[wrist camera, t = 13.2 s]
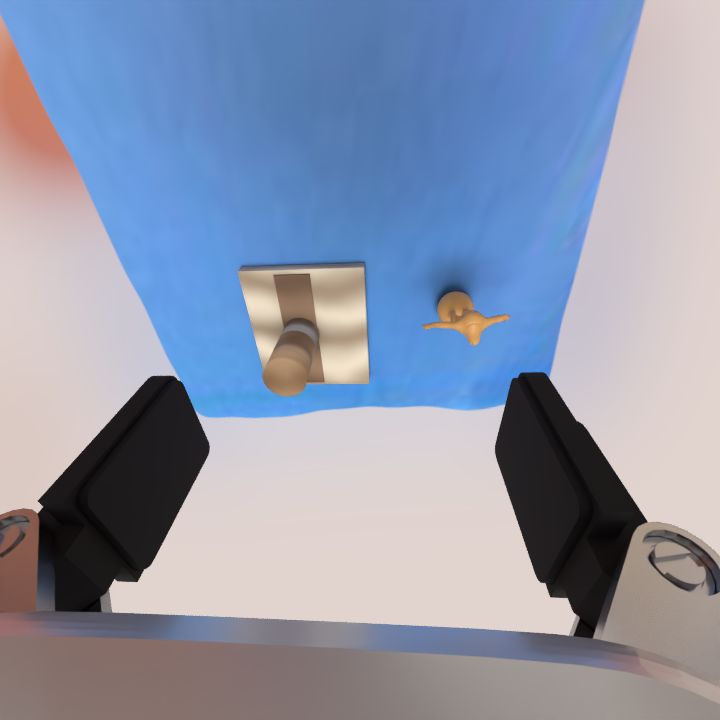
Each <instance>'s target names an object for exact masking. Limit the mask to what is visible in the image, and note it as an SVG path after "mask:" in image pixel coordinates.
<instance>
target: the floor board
mask: <svg viewBox="0 0 720 720" xmlns="http://www.w3.org/2000/svg"><path fill="white" fill-rule="evenodd" d="M238 275H239V279H240V282H241V286H242V290H243V294H244V298H245V302H246V305H247V309H248V313H249V317H250V321H251V324H252V328H253V332H254V336H255V340H256V344H257V347H258V351H259V355H260V359H261V363H262V366H263V370H264V369H265V367H266V365H267V363H268V360H269V358H270V356H271V354H272V352H273V350H274V348H275V346H276V344H277V341H278V339H279V337H280V335H281V333H282V331H283V329H284V327H285V325H286V323H287V322H288V321H290V320H292V319H294V318H304V319H307V320H310V321H311V322H313V323H314V324H315V325H316V326H317V328H318V330H319V334H320V337H319V341H318V345H317V348H316V352H315V355H314V358H313V362H312V365H311V369H310V372H309V376H308V379H307V383H306V384H369V380H370V373H369V351H368V329H367V307H366V285H365V263H340V264H309V265H279V266H248V267H241V268H240V269H239V270H238Z"/></svg>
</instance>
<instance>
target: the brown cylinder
mask: <svg viewBox="0 0 720 720" xmlns="http://www.w3.org/2000/svg"><path fill="white" fill-rule="evenodd" d="M319 337H320V334H319V330H318V328H317V326H316V325H315V324H314V323H313V322H311V321H310V320H307V319H304V318H294V319H292V320H290V321H288V322H287V323H286V325H285V327H284V329H283V331H282V333H281V335H280V337H279V339H278V341H277V344H276V346H275V348H274V350H273V352H272V354H271V356H270V358H269V360H268V363H267V365H266V367H265V369H264V371H263V375H262V377H263V381H264V384H265V385H266V387H267V388H268V389H269V390H271V391H272V392H274V393H276V394H278V395H281V396H294V395H297V394H299V393H301V392H302V391H303V390H304V388H305V386H306V383H307V379H308V376H309V372H310V369H311V365H312V362H313V358H314V355H315V352H316V348H317V345H318V341H319Z"/></svg>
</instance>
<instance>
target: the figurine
mask: <svg viewBox="0 0 720 720" xmlns="http://www.w3.org/2000/svg"><path fill="white" fill-rule="evenodd" d="M437 313H438V316H439V318H440V320H441V321H442V322H433V323H430V324H427V325H422V326H423V328H424V329H427V330H428V329H430V328H433V327H440V328H451V329H455V330H458V331H459V332H460V333H462V334H464V335H465V336H466V338H467V339H468V341H469V342H470V344H472V345H474V346H475V345H477V344H478V342H479V340H480V336H481V333H482V331H483V330H484V329H485V328H486V327H488V326H490V325H491V324H494V323H497V322H500V321H502V320H504V322H505V321H506V320H508V319H509V318H510V315H506V314H504V315H498V316H494V317H490V318H486V317H484V316H483V315H482V314H481V313H479V312H478V311H475V310H474V305H473V302H472V300H471V298H470V297H469V296H468V295H466V294H465V293H463V292H458V291H454V292H450V293H448V294H446V295H444V296H443V297H442V298H441V300H440V301H439V303H438V307H437Z"/></svg>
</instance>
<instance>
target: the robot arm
mask: <svg viewBox="0 0 720 720" xmlns="http://www.w3.org/2000/svg"><path fill="white" fill-rule="evenodd" d="M209 448H210V446H209V442H208V440H207V437H206V435H205V433H204V431H203V429H202V426H201V424H200V422H199V419H198V417H197V415H196V412H195V410H194V408H193V406H192V403H191V401H190V399H189V396H188V394H187V392H186V390H185V387H184V385H183V383H182V382H181V381H178V380H177V379H176V378H175V377H174V376H152V377H150V378H149V379H147V381H146V382H145V383H144V384H143V385H142V386H141V387H140V388H139V390H138V391H137V392H136V393H135V394H134V395H133V396H132V397H131V398H130V399H129V401H128V402H127V403H126V404H125V405H124V406H123V407H122V408H121V409H120V410H119V412H118V413H117V414H116V415H115V416H114V417H113V418H112V419H111V421H110V422H109V423H108V424H107V425H106V426H105V427H104V428H103V429H102V430H101V432H100V433H99V434H98V435H97V436H96V437H95V438H94V439H93V440H92V442H91V443H90V444H89V445H88V446H87V447H86V448H85V449H84V450H83V451H82V453H81V454H80V455H79V456H78V457H77V458H76V459H75V460H74V461H73V462H72V464H71V465H70V466H69V467H68V468H67V469H66V470H65V471H64V472H63V474H62V475H61V476H60V477H59V478H58V479H57V480H56V481H55V482H54V484H53V485H52V486H51V487H50V488H49V489H48V490H47V491H46V493H45V494H44V495H43V496H42V497H41V498H40V499H39V500H38V502H39V503H40V504H41V505H42V506H43V508H42V509H41V510H40V512H39V513H38V514H37V513H36V512H35V511H33V510H32V509H18V510H13V511H10V512H7V513H4V514H1V515H0V720H720V556H719V555H718V554H717V553H716V552H715V551H714V550H713V549H712V548H711V547H709V546H708V545H707V544H706V543H705V542H703V541H702V540H701V539H699V538H698V537H696V536H694V535H692V534H691V533H689V532H688V531H685V530H683V529H681V528H678V527H676V526H674V525H671V524H666V523H661V522H650V523H648V522H647V520H646V519H645V517H644V515H643V514H642V512H641V511H640V509H639V508H638V506H637V505H636V503H635V502H634V500H633V499H632V497H631V496H630V494H629V493H628V491H627V490H626V488H625V487H624V485H623V484H622V482H621V481H620V479H619V478H618V476H617V475H616V473H615V471H614V470H613V468H612V467H611V465H610V464H609V462H608V461H607V459H606V458H605V456H604V455H603V453H602V452H601V450H600V449H599V447H598V446H597V444H596V443H595V441H594V440H593V438H592V437H591V435H590V434H589V432H588V431H587V429H586V428H585V427H584V425H583V424H581V423H579V422H577V421H576V420H575V418H574V416H573V415H572V413H571V412H570V410H569V409H568V407H567V406H566V404H565V402H564V401H563V400H562V398H561V396H560V395H559V394H558V392H557V390H556V389H555V387H554V386H553V384H552V382H551V381H550V379H549V378H548V376H547V375H546V374H545V373H543V372H532V373H520V375H519V376H518V378H513V379H512V381H511V385H510V389H509V393H508V397H507V401H506V405H505V409H504V413H503V417H502V421H501V425H500V428H499V432H498V436H497V441H496V445H495V454H496V458H497V462H498V464H499V467H500V470H501V473H502V476H503V479H504V482H505V485H506V488H507V491H508V494H509V497H510V500H511V503H512V506H513V509H514V512H515V515H516V518H517V521H518V524H519V527H520V530H521V533H522V536H523V539H524V542H525V545H526V548H527V551H528V554H529V557H530V559H531V563H532V565H533V569H534V572H535V574H536V577H537V579H538V580H539V581H540V582H541V583H546V586H547V589H548V592H549V595H550V597H555V598H556V597H557V598H568V600H569V602H570V605H571V607H572V610H573V612H574V613H575V614H576V618H575V621H574V624H573V626H572V629H571V632H570V634H569V636H566V635H557V634H545V633H530V632H514V631H501V630H486V629H469V628H449V627H428V626H409V625H408V626H407V625H389V624H368V623H347V622H325V621H303V620H279V619H257V618H234V617H210V616H185V615H158V614H134V613H112V609H111V601H110V593H109V587H110V586H111V584H112V582H113V581H114V579H115V580H117V581H123V582H138V580H139V578H140V576H141V574H142V572H143V571H144V569H146V568H148V567H149V566H150V565H151V564H152V562H153V560H154V558H155V556H156V555H157V553H158V551H159V549H160V547H161V545H162V543H163V541H164V539H165V537H166V535H167V534H168V531H169V530H170V528H171V526H172V524H173V522H174V520H175V518H176V516H177V514H178V512H179V510H180V508H181V507H182V505H183V503H184V501H185V499H186V497H187V495H188V493H189V491H190V489H191V487H192V485H193V483H194V481H195V480H196V478H197V476H198V474H199V472H200V470H201V468H202V466H203V464H204V462H205V460H206V458H207V456H208V454H209Z"/></svg>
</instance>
